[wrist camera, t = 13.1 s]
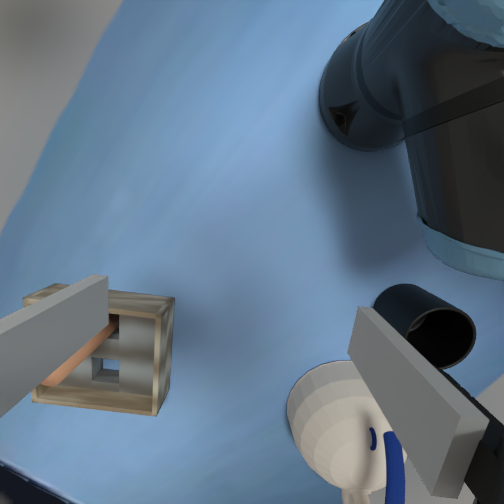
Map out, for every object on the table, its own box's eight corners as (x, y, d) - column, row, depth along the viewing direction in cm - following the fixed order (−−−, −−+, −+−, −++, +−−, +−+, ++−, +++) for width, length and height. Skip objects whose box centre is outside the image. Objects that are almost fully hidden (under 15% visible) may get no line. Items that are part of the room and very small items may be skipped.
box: (55, 283, 41) (22, 297, 35) (174, 297, 42) (161, 314, 36) (60, 375, 45) (32, 402, 39) (169, 388, 45) (156, 416, 40)
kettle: (279, 446, 48) (293, 590, 31) (294, 353, 44) (320, 459, 26) (382, 456, 48) (454, 605, 31) (407, 364, 44) (509, 477, 26)
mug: (406, 354, 43) (444, 394, 34) (360, 310, 42) (388, 340, 33) (450, 318, 42) (503, 351, 33) (405, 271, 40) (447, 292, 31)
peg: (104, 306, 42) (32, 359, 28) (124, 309, 42) (61, 362, 28) (104, 324, 43) (34, 384, 29) (124, 327, 43) (63, 388, 29)
